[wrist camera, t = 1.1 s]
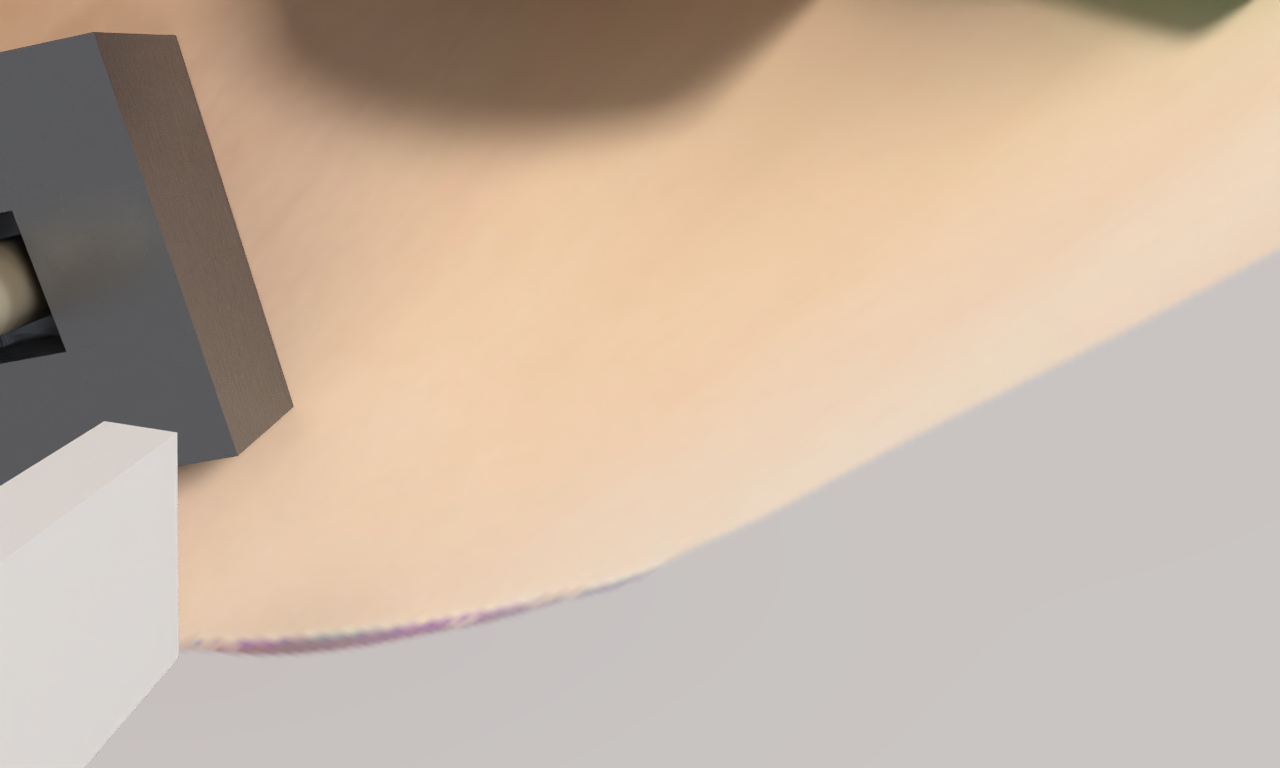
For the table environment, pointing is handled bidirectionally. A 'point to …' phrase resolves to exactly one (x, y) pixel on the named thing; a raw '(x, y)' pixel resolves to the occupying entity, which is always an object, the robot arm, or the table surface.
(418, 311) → the table surface
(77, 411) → the mount block
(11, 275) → the pin
